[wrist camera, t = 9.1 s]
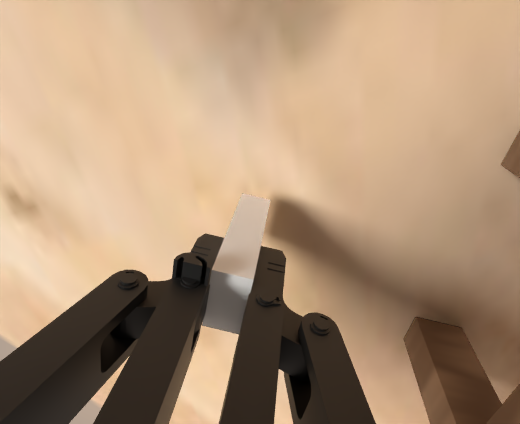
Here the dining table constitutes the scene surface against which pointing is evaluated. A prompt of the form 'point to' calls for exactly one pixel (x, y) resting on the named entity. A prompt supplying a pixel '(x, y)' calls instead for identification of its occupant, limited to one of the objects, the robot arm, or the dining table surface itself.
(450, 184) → the dining table surface
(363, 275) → the dining table surface
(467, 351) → the bridge
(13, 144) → the dining table surface
